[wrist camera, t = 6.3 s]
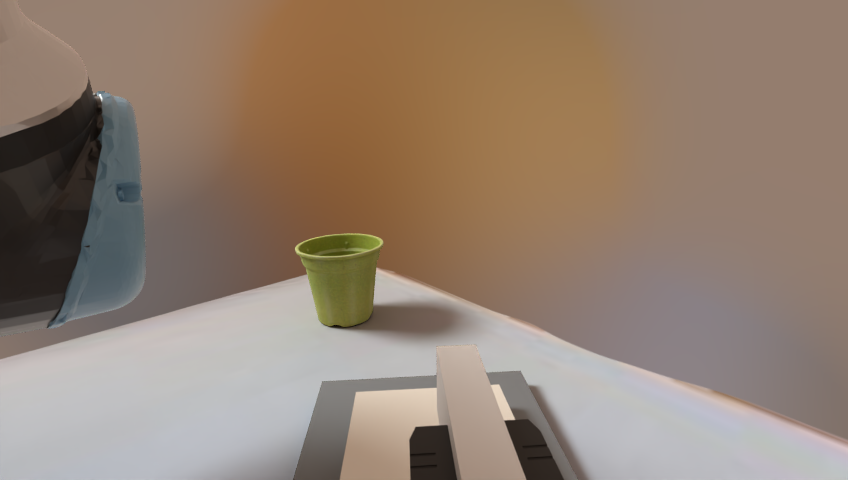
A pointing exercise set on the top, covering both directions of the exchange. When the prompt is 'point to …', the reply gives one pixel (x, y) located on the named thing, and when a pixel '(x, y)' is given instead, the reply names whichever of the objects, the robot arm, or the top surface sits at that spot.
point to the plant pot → (341, 276)
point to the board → (336, 398)
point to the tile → (391, 431)
